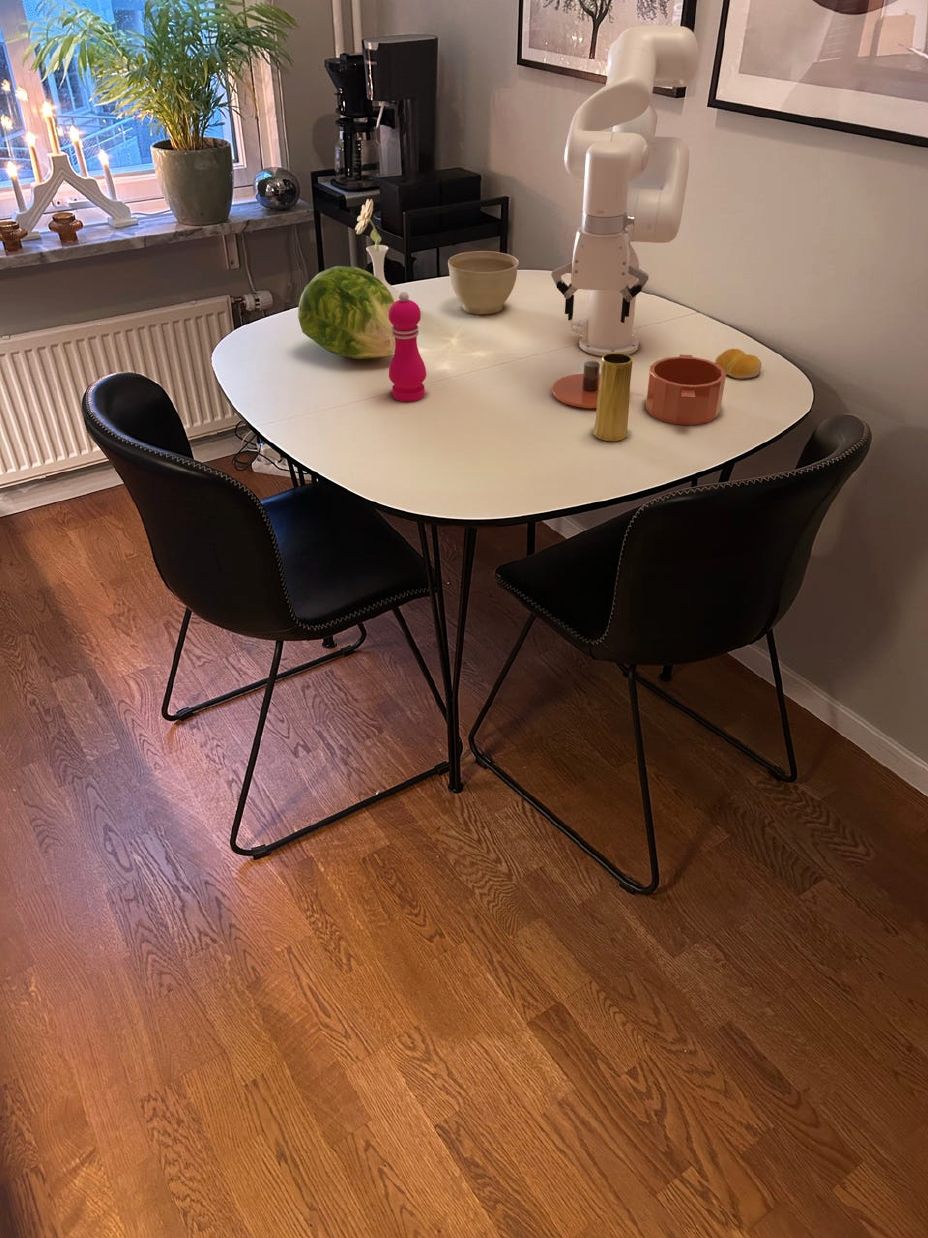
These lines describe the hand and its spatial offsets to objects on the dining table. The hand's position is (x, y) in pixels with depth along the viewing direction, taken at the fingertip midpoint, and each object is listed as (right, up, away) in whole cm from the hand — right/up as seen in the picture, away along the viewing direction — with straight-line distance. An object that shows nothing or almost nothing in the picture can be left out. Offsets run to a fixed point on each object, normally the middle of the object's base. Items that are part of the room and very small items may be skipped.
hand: (596, 318), depth 172 cm
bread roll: (+31, -5, +17) cm, 36 cm away
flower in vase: (-44, +17, +47) cm, 67 cm away
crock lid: (0, -11, +8) cm, 14 cm away
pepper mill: (-35, -12, +10) cm, 39 cm away
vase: (+2, -22, -4) cm, 23 cm away
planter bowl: (-20, +18, +47) cm, 54 cm away
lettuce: (-47, +1, +27) cm, 54 cm away
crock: (+17, -16, +3) cm, 23 cm away
